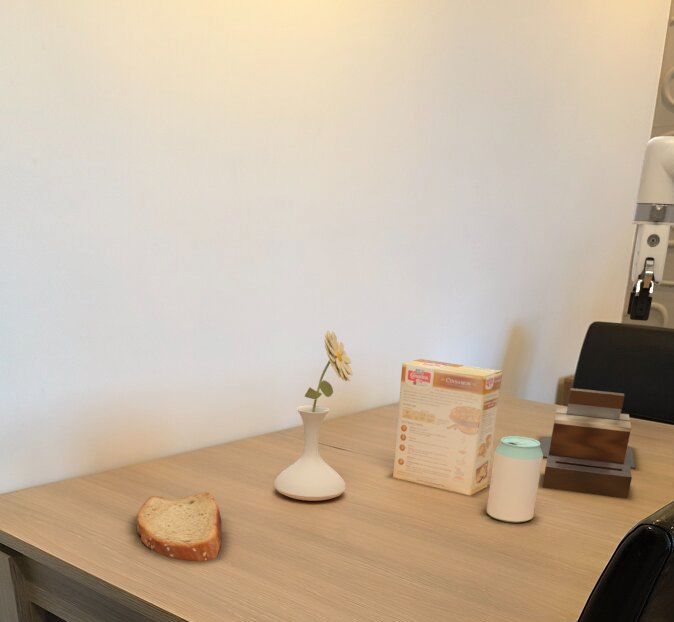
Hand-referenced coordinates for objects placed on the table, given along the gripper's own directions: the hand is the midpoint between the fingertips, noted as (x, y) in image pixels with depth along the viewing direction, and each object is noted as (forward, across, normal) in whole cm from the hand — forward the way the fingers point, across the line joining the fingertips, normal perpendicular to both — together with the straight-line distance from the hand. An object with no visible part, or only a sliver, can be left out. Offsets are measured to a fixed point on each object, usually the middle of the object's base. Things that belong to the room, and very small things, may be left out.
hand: (637, 317), depth 154 cm
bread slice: (+26, -72, +59) cm, 97 cm away
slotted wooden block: (+26, -27, +5) cm, 38 cm away
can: (+26, -48, +17) cm, 57 cm away
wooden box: (+26, -3, +5) cm, 27 cm away
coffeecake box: (+26, -34, +30) cm, 52 cm away
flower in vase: (+26, -49, +48) cm, 73 cm away
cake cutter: (+25, -3, +5) cm, 26 cm away
